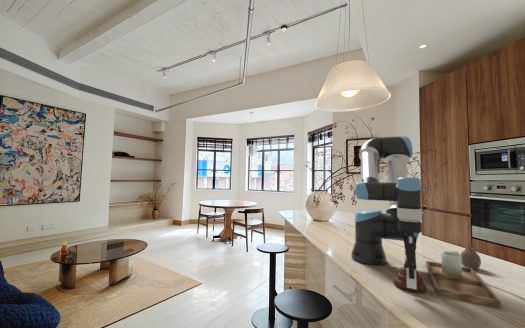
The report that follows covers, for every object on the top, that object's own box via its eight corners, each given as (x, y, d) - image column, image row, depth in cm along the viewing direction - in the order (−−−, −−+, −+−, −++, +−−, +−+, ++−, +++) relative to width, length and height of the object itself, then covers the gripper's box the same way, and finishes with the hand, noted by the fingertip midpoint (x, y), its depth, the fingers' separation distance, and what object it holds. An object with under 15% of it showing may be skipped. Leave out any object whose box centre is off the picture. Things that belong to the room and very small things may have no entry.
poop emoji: (391, 287, 83) (390, 260, 84) (396, 279, 90) (395, 254, 91) (425, 297, 77) (424, 267, 78) (428, 288, 84) (427, 261, 84)
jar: (443, 274, 94) (442, 251, 94) (440, 269, 99) (440, 247, 100) (463, 278, 91) (463, 254, 91) (460, 272, 96) (459, 250, 97)
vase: (485, 271, 100) (484, 250, 100) (466, 270, 101) (465, 249, 102) (474, 265, 107) (473, 246, 107) (456, 264, 108) (456, 245, 108)
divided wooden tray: (435, 294, 79) (435, 288, 79) (425, 265, 106) (425, 260, 106) (500, 308, 71) (500, 301, 71) (471, 272, 98) (471, 268, 98)
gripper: (425, 226, 72) (427, 298, 71) (418, 217, 94) (420, 271, 93) (397, 223, 76) (398, 291, 75) (397, 215, 98) (398, 267, 96)
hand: (410, 280), depth 84 cm, fingers open, 13 cm apart
